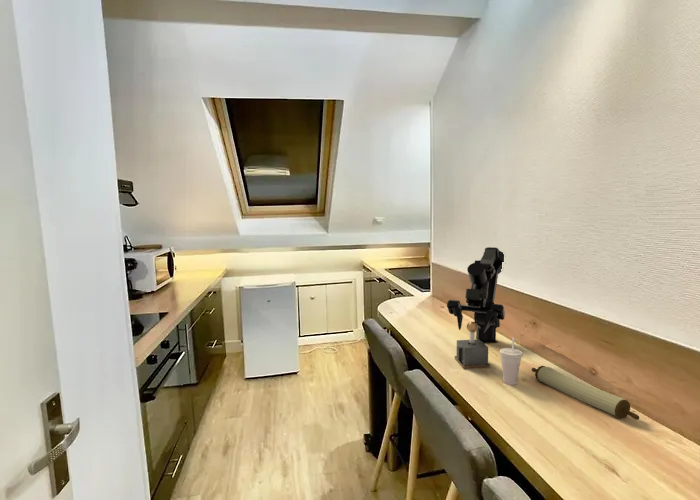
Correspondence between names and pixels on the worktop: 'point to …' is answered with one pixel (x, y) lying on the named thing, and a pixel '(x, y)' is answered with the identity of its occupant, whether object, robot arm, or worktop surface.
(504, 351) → the smoothie
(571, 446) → the worktop surface
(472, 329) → the copper ball knob
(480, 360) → the copper ball lever box
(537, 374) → the rolling pin
